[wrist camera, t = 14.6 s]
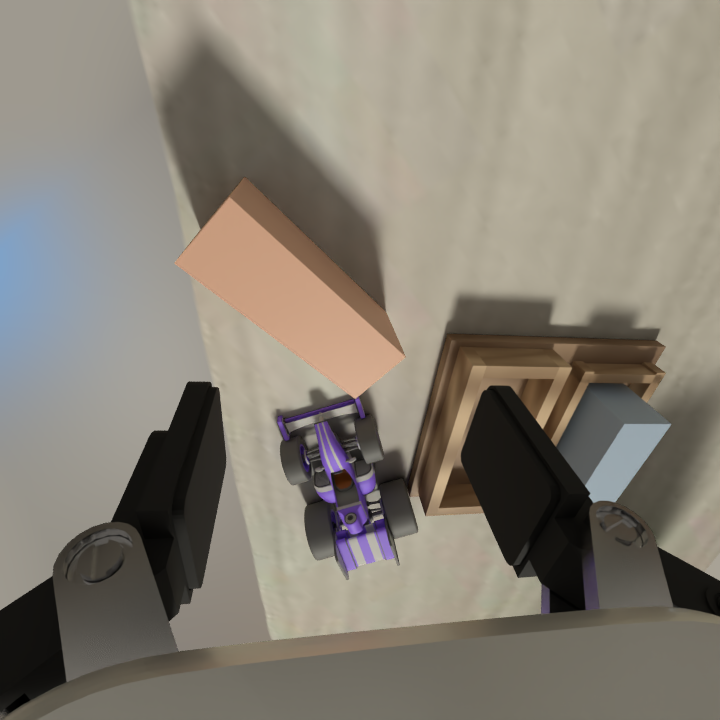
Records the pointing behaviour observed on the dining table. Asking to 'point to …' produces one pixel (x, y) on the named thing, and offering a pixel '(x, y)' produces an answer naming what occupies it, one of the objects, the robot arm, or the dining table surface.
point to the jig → (532, 385)
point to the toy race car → (346, 489)
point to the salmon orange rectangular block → (292, 290)
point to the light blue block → (610, 438)
